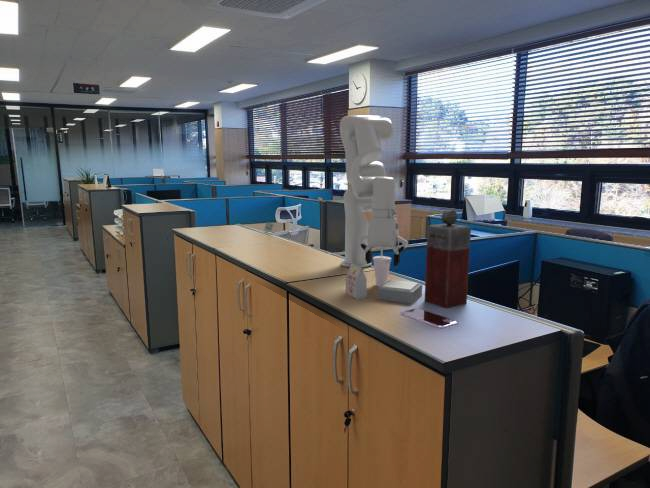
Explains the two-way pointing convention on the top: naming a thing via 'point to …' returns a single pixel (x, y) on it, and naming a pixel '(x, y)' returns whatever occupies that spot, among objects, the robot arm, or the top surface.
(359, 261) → the robot arm
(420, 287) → the plinth
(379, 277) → the smoothie
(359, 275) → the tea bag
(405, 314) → the mobile phone
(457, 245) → the red square canister
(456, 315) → the top surface
